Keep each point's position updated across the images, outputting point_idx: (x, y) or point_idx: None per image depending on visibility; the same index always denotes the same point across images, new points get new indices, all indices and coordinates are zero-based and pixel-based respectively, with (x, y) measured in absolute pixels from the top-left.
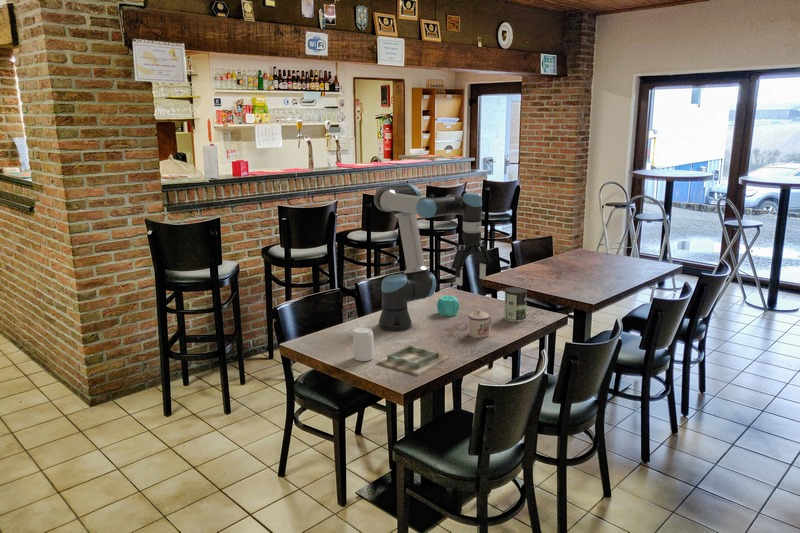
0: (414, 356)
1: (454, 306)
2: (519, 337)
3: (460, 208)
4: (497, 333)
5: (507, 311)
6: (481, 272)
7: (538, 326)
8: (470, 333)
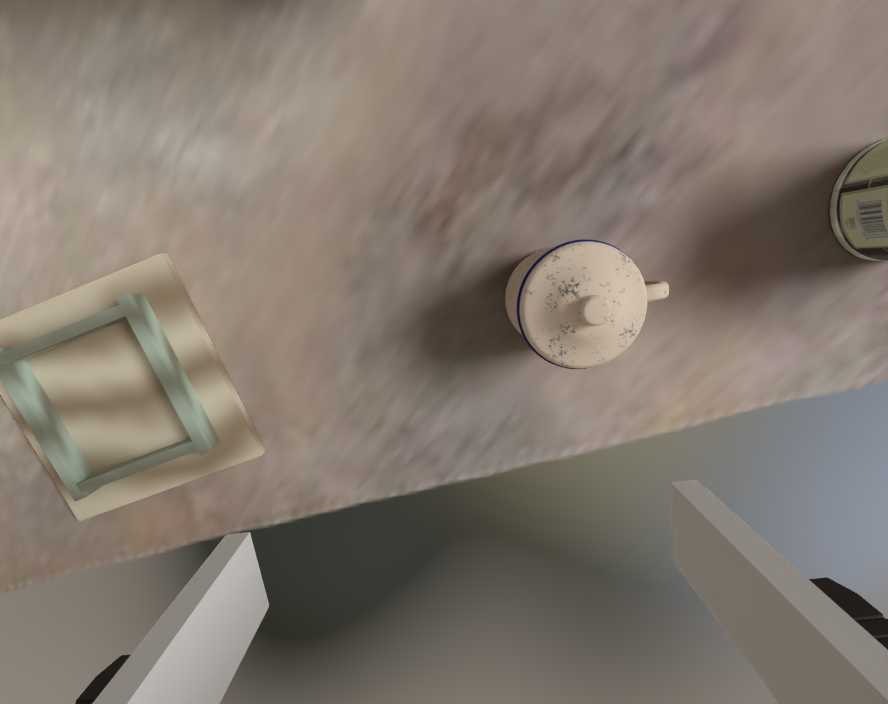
0: (132, 377)
1: None
2: (677, 425)
3: None
4: None
5: (881, 193)
6: (731, 584)
7: (866, 365)
8: (506, 292)
